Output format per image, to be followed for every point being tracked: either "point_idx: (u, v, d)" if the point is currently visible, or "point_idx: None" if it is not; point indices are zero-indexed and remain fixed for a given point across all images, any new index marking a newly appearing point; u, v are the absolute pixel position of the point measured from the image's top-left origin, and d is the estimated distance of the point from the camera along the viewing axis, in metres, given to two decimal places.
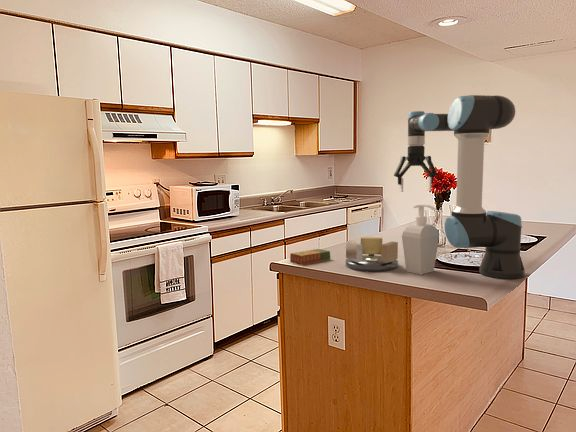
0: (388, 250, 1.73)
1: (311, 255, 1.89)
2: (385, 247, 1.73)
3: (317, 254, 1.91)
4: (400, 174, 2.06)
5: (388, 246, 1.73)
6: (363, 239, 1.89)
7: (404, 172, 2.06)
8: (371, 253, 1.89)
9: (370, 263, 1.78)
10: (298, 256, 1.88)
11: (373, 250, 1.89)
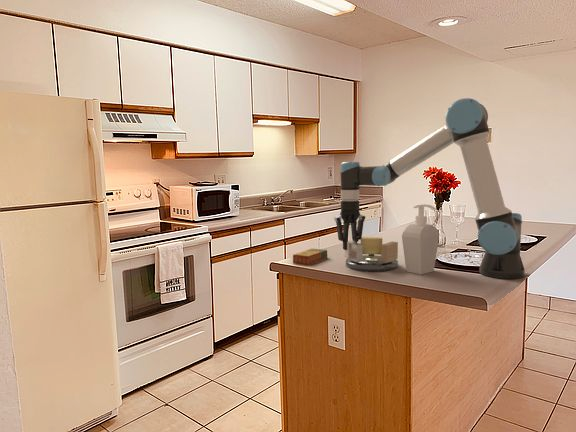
0: (388, 250, 1.73)
1: (315, 255, 1.89)
2: (385, 247, 1.73)
3: (319, 253, 1.92)
4: (345, 239, 1.80)
5: (388, 246, 1.73)
6: (363, 239, 1.89)
7: (347, 234, 1.80)
8: (371, 253, 1.89)
9: (370, 263, 1.78)
10: (304, 257, 1.86)
11: (373, 250, 1.89)
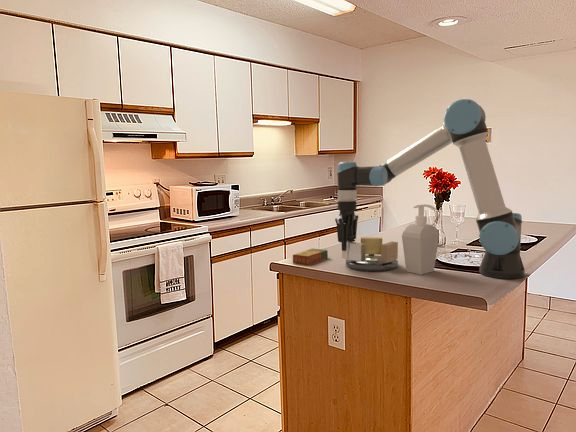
0: (388, 250, 1.73)
1: (315, 255, 1.89)
2: (385, 247, 1.73)
3: (319, 253, 1.92)
4: (345, 239, 1.78)
5: (388, 246, 1.73)
6: (363, 239, 1.89)
7: (347, 235, 1.79)
8: (371, 253, 1.89)
9: (370, 263, 1.78)
10: (304, 257, 1.86)
11: (373, 250, 1.89)
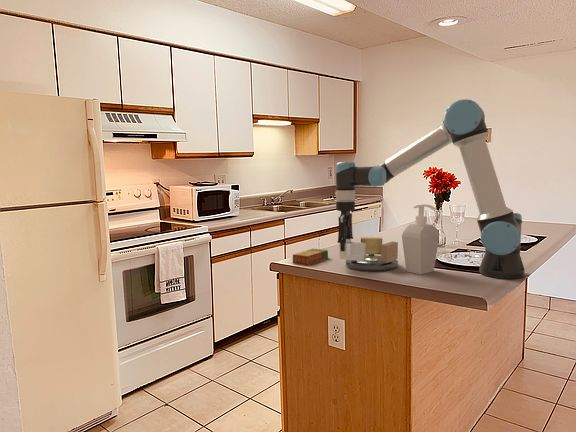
0: (388, 250, 1.73)
1: (315, 255, 1.89)
2: (385, 247, 1.73)
3: (319, 253, 1.92)
4: (345, 239, 1.74)
5: (388, 246, 1.73)
6: (363, 239, 1.89)
7: (346, 235, 1.76)
8: (371, 253, 1.89)
9: (370, 263, 1.78)
10: (304, 257, 1.86)
11: (373, 250, 1.89)
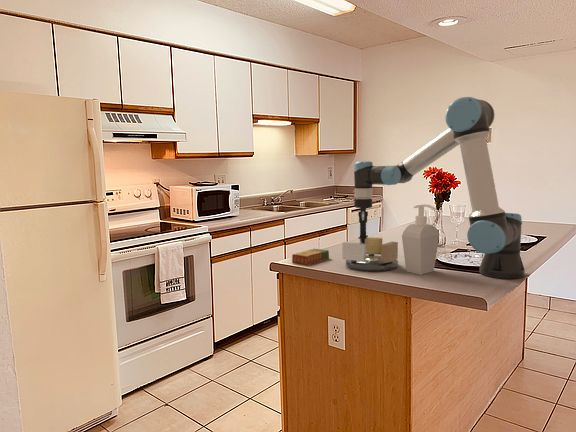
0: (388, 250, 1.73)
1: (314, 255, 1.89)
2: (385, 247, 1.73)
3: (319, 254, 1.91)
4: None
5: (388, 246, 1.73)
6: None
7: None
8: (371, 253, 1.89)
9: (370, 263, 1.78)
10: (302, 257, 1.86)
11: (373, 250, 1.89)
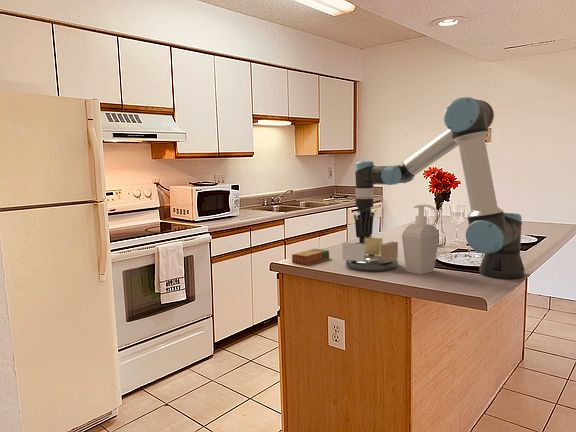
0: (388, 250, 1.73)
1: (314, 255, 1.89)
2: (385, 247, 1.73)
3: (319, 254, 1.91)
4: (363, 235, 1.89)
5: (388, 246, 1.73)
6: None
7: (364, 230, 1.89)
8: (370, 253, 1.89)
9: (370, 263, 1.78)
10: (302, 256, 1.86)
11: (372, 250, 1.88)
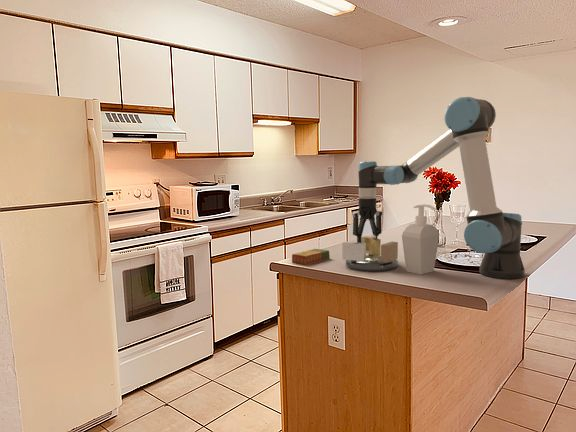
0: (388, 250, 1.73)
1: (314, 255, 1.89)
2: (385, 247, 1.73)
3: (319, 254, 1.91)
4: (359, 233, 1.90)
5: (388, 246, 1.73)
6: (364, 238, 1.92)
7: (362, 229, 1.90)
8: (369, 253, 1.90)
9: (370, 263, 1.78)
10: (302, 256, 1.86)
11: (370, 250, 1.89)
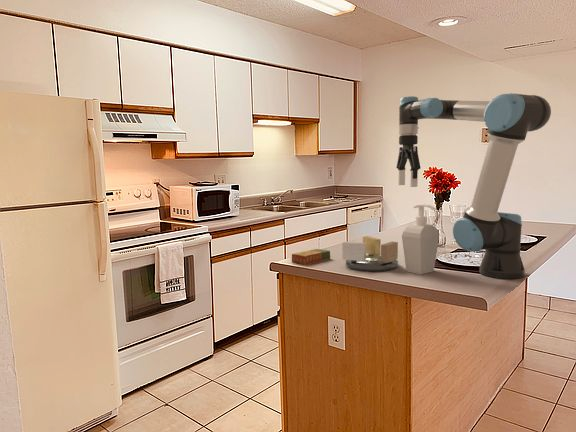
0: (388, 250, 1.73)
1: (313, 255, 1.89)
2: (385, 247, 1.73)
3: (319, 254, 1.91)
4: (398, 166, 1.95)
5: (388, 246, 1.73)
6: (364, 238, 1.92)
7: (400, 164, 1.93)
8: (369, 253, 1.90)
9: (370, 263, 1.78)
10: (301, 256, 1.87)
11: (370, 250, 1.89)
